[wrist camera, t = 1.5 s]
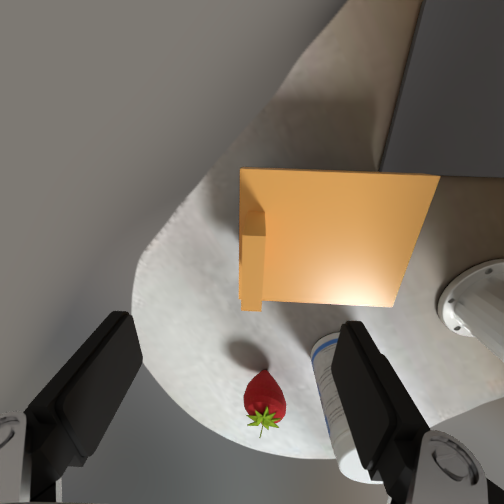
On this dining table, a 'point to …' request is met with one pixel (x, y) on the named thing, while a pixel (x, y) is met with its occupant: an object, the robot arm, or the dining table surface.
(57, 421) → the robot arm
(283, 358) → the dining table surface
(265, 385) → the strawberry
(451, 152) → the mat
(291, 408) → the dining table surface
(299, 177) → the lid
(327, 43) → the dining table surface
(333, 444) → the supplement tub
